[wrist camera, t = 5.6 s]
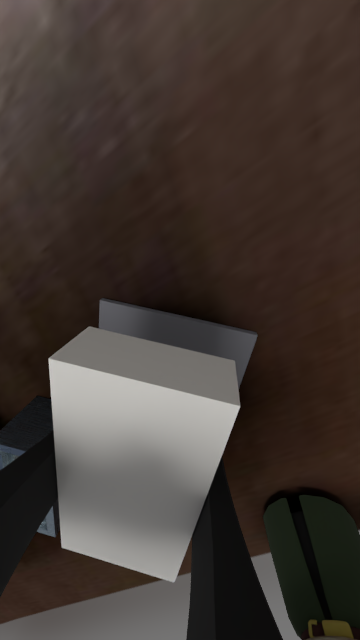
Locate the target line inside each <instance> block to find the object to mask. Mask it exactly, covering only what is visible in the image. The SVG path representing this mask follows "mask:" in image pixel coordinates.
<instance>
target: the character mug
mask: <svg viewBox="0 0 360 640" xmlns="http://www.w3.org/2000/svg"><path fill="white" fill-rule="evenodd" d="M299 499H300V503H301V506H302V510H303V511H297V512H294V513H290V509H289V506H288V502H287V499H286V498H281V499H279V500H277V501H276V502H274V503H272V504H271V505H269V506H268V508H267V510H266V512H265V514H264V516H263V519H264V523H265V528H266V532H267V537H268V541H269V546H270V550H271V554H272V558H273V562H274V565H275V569H276V572H277V576H278V580H279V584H280V587H281V591H282V595H283V598H284V602H285V605H286V610H287V613H288V617H289V619H290V621H291V623H292V625H293V627H294V630H295V631H296V634H297V635H298V636H299V637H300V638H301V639H302V640H360V535H359V532H358V529H357V526H356V524H355V521H354V520H353V519H352V517H351V516H350V515H349V514H348V512H347V511H346V510H345V509H344V507H343V506H342V505H340V504H337V503H335V502H333V501H331V500H329V499H326V498H324V497H318V496H310V495H300V496H299Z"/></svg>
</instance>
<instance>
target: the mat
mask: <svg viewBox="0 0 360 640" xmlns="http://www.w3.org/2000/svg"><path fill="white" fill-rule="evenodd" d="M99 329H102V330H106V331H111V332H115V333H119V334H123V335H128V336H132V337H136V338H140V339H145V340H149V341H153V342H157V343H162V344H166V345H170V346H174V347H179V348H183V349H187V350H191V351H196V352H200V353H204V354H208V355H213V356H217V357H221V358H226V359H230V360H234V361H235V365H236V374H237V382H238V390H239V387H240V384H241V381H242V378H243V376H244V373H245V370H246V367H247V364H248V361H249V359H250V356H251V353H252V350H253V347H254V344H255V342H256V339H257V336H258V335H257V332H253V331H248V330H244V329H240V328H235V327H231V326H226V325H222V324H217V323H213V322H208V321H204V320H199V319H195V318H190V317H186V316H181V315H177V314H172V313H168V312H163V311H159V310H154V309H150V308H145V307H141V306H136V305H132V304H127V303H123V302H118V301H114V300H109V299H105V298H102V299H101V300H100V310H99Z"/></svg>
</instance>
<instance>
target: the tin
mask: <svg viewBox="0 0 360 640" xmlns="http://www.w3.org/2000/svg"><path fill="white" fill-rule="evenodd" d="M51 431H53V416H52V402H51V399H48V398H44V397H40V396H36V397H35V398H34V399H33V400H32V401H31V402H30V403H29V404H28V405H27V406H26V407H25V408H24V409H23V410H22V411H21V412H20V413H18V414H17V415H16V416H15V417H14V418H13V419H12V420H11V421H10V422H9V423H8V424H7V425H6V426H5V427H4V428H3V429H2V430H1V431H0V470H1V469H3V468H4V467H5V466H7V465H8V464H10V463H11V462H12V461H14V460H15V459H16V458H18V457H19V456H20V455H22V454H23V453H24V452H26V451H27V450H28V449H30V448H31V447H32V446H34V445H35V444H36V443H37V442H39V441H40V440H41V439H43V438H44V437H45V436H46V435H48V434H49V433H50V432H51ZM59 529H60V516H59V502H58V498H57V500H56V501H55V503H54V504H53V506H52V508H51V509H50V511H49V512H48V514H47V516H46V517H45V519H44V520H43V522H42V524H41V525H40V527H39V528H38V530H37V532H40V533H43V534H46V535H49V536H53V537H56V535H57V533H58V531H59Z"/></svg>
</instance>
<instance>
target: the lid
mask: <svg viewBox="0 0 360 640" xmlns="http://www.w3.org/2000/svg"><path fill="white" fill-rule="evenodd" d="M48 359H49V373H50V387H51V402H52V416H53V430H54V445H55V459H56V473H57V487H58V502H59V516H60V530H61V545H62V548H65V549H68V550H71V551H74V552H78V553H81V554H84V555H87V556H91V557H94V558H97V559H100V560H103V561H107V562H110V563H113V564H116V565H119V566H123V567H126V568H129V569H132V570H136V571H139V572H142V573H145V574H148V575H152V576H155V577H158V578H161V579H164V580H168V581H171V582H175V579H176V577H177V574H178V571H179V569H180V566H181V563H182V561H183V558H184V555H185V553H186V550H187V547H188V545H189V542H190V539H191V537H192V534H193V531H194V529H195V526H196V523H197V521H198V518H199V515H200V513H201V510H202V507H203V505H204V502H205V499H206V497H207V494H208V491H209V489H210V486H211V483H212V481H213V478H214V475H215V473H216V470H217V467H218V465H219V462H220V459H221V457H222V454H223V451H224V449H225V446H226V443H227V441H228V438H229V435H230V433H231V430H232V427H233V425H234V422H235V419H236V417H237V414H238V411H239V409H240V399H239V390H238V382H237V374H236V365H235V361H234V360H230V359H226V358H221V357H217V356H213V355H208V354H204V353H200V352H196V351H191V350H187V349H183V348H179V347H174V346H170V345H166V344H162V343H157V342H153V341H149V340H145V339H140V338H136V337H132V336H128V335H123V334H119V333H115V332H111V331H106V330H102V329H98V328H94V327H88V328H86V329H85V330H84V331H83V332H81V333H80V334H79V335H78V336H76V337H75V338H74V339H72V340H71V341H70V342H69V343H67V344H66V345H65V346H64V347H62V348H61V349H60V350H59V351H57V352H56V353H55V354H53V355H52V356H51V357H50V358H48Z"/></svg>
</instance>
